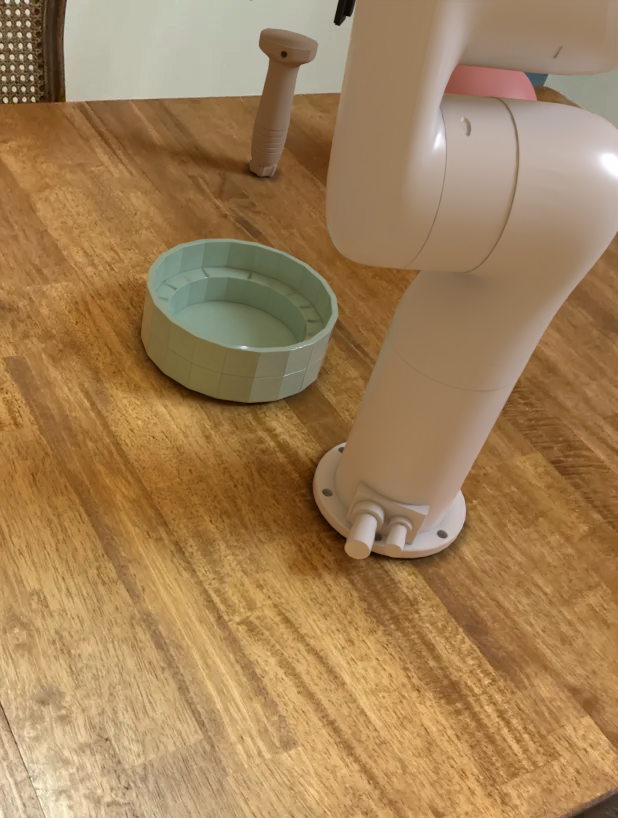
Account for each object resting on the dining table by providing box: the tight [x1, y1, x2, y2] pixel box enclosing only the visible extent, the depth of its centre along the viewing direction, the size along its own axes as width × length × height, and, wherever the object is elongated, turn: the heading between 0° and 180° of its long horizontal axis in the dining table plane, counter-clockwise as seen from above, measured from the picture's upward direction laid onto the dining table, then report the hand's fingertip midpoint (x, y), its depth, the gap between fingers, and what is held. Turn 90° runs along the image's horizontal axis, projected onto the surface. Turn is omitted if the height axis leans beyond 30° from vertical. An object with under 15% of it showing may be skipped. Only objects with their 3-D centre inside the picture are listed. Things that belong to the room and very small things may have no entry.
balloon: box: [444, 65, 538, 101], centre depth 106 cm, size 15×20×15 cm
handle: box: [249, 27, 319, 178], centre depth 101 cm, size 5×6×15 cm
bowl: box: [140, 238, 339, 404], centre depth 80 cm, size 17×17×6 cm
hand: (296, 9), depth 93 cm, fingers open, 9 cm apart
